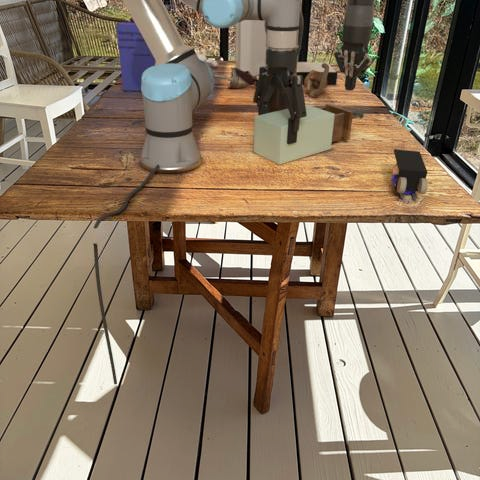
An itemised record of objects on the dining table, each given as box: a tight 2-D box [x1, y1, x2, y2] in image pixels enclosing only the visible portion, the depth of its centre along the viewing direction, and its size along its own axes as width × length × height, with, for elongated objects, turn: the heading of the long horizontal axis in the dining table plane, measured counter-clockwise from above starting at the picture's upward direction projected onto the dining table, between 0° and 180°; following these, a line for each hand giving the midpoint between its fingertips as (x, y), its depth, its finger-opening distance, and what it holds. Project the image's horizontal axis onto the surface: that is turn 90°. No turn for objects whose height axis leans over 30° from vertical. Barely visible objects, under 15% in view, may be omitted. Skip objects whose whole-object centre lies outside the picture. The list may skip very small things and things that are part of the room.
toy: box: [195, 51, 219, 68], centre depth 223 cm, size 24×25×7 cm
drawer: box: [318, 103, 365, 143], centre depth 135 cm, size 23×10×8 cm, turn 127°
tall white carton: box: [234, 20, 268, 77], centre depth 210 cm, size 19×15×28 cm
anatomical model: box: [303, 63, 329, 98], centre depth 183 cm, size 13×9×15 cm
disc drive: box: [296, 61, 338, 86], centre depth 207 cm, size 18×22×5 cm
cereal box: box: [115, 21, 156, 92], centre depth 181 cm, size 17×5×24 cm, turn 86°
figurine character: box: [391, 148, 429, 201], centre depth 109 cm, size 7×8×15 cm
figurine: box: [213, 66, 259, 89], centre depth 190 cm, size 24×8×30 cm
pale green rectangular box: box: [253, 104, 335, 165], centre depth 129 cm, size 19×11×10 cm, turn 126°
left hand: (277, 136), depth 126 cm, fingers closed on pale green rectangular box, 11 cm apart
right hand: (349, 89), depth 135 cm, fingers closed
